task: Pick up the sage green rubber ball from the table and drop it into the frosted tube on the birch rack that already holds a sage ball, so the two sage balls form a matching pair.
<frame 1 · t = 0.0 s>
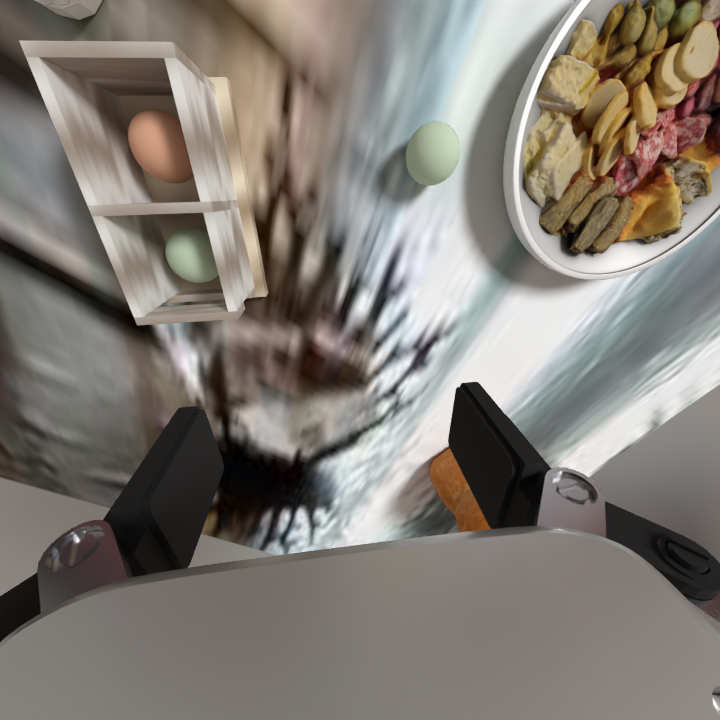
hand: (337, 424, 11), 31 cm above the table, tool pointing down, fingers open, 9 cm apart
bread: (483, 473, 63), on the table
sage ball: (432, 154, 32), point 3 cm above the table
bowl: (610, 144, 36), on the table
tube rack: (197, 205, 34), on the table
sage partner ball: (196, 256, 33), point 4 cm above the table, touching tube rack
terracotta ball: (165, 148, 28), point 4 cm above the table, touching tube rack
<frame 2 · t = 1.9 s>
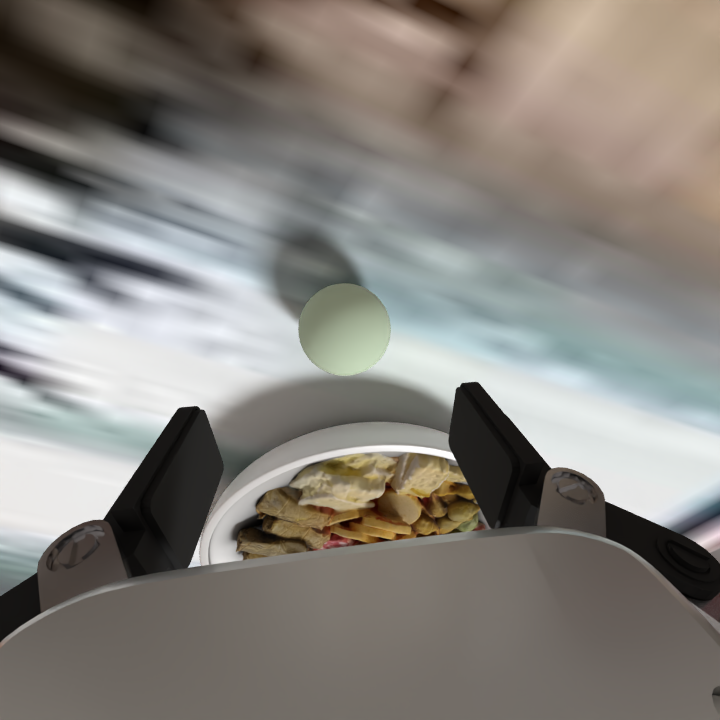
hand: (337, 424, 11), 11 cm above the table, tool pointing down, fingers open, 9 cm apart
sage ball: (344, 330, 19), point 3 cm above the table
bowl: (363, 511, 33), on the table
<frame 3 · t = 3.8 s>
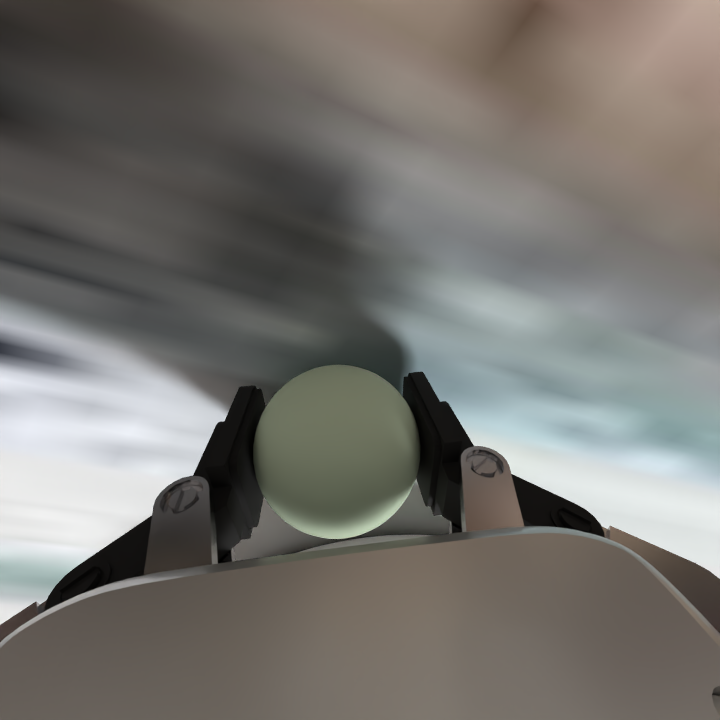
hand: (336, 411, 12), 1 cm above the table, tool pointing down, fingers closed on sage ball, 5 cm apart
sage ball: (338, 445, 10), point 3 cm above the table, touching gripper
bowl: (366, 622, 25), on the table
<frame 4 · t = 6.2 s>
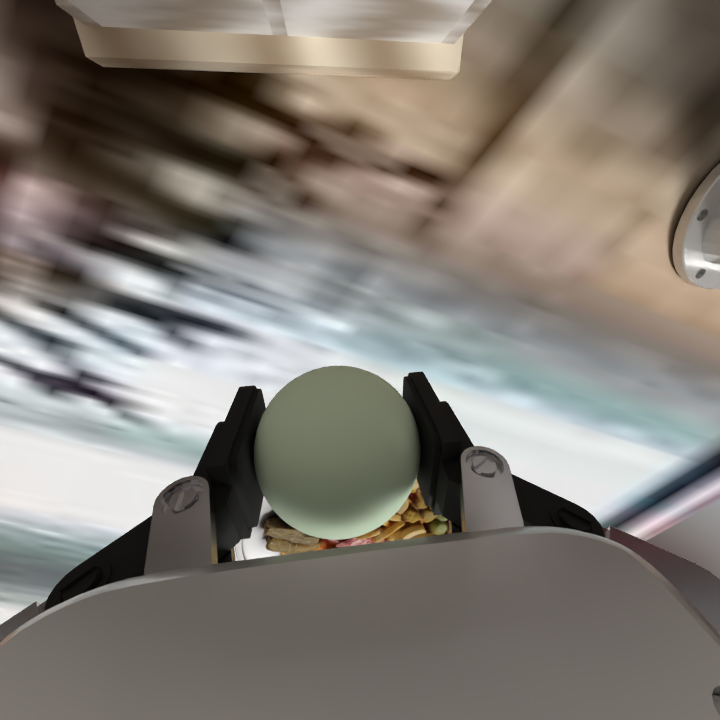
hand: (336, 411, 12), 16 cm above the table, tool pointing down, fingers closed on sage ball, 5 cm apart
sage ball: (338, 446, 10), point 17 cm above the table, touching gripper
bowl: (362, 505, 40), on the table
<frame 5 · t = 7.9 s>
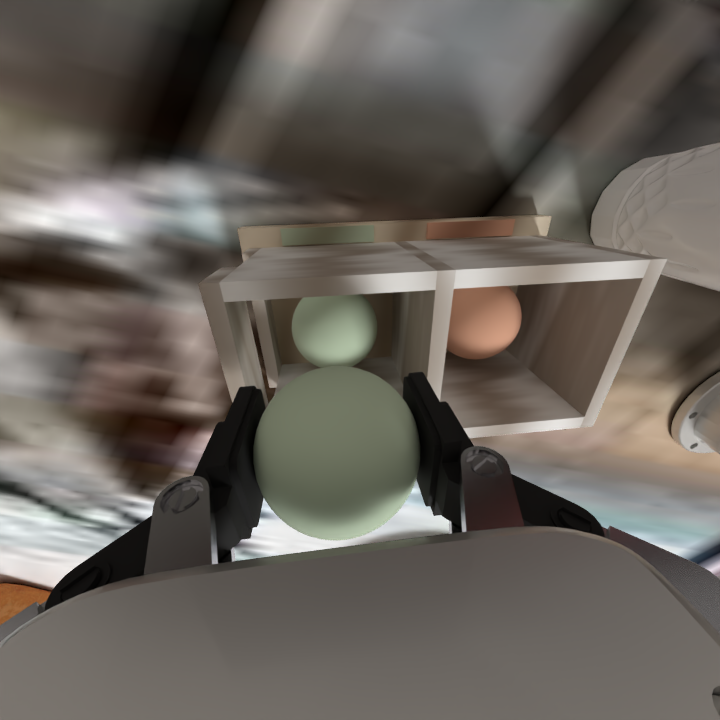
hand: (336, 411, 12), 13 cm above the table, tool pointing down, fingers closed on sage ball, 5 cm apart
bread: (15, 627, 41), on the table
sage ball: (338, 446, 10), point 15 cm above the table, touching gripper
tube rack: (393, 303, 24), on the table
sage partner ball: (335, 327, 20), point 4 cm above the table, touching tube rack
terracotta ball: (475, 318, 21), point 4 cm above the table, touching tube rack
white cup: (631, 210, 23), on the table
when the fingers open (12 cm above the table, at t = 8.9 s): sage ball drops 5 cm and tips over, resting on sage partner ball, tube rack.
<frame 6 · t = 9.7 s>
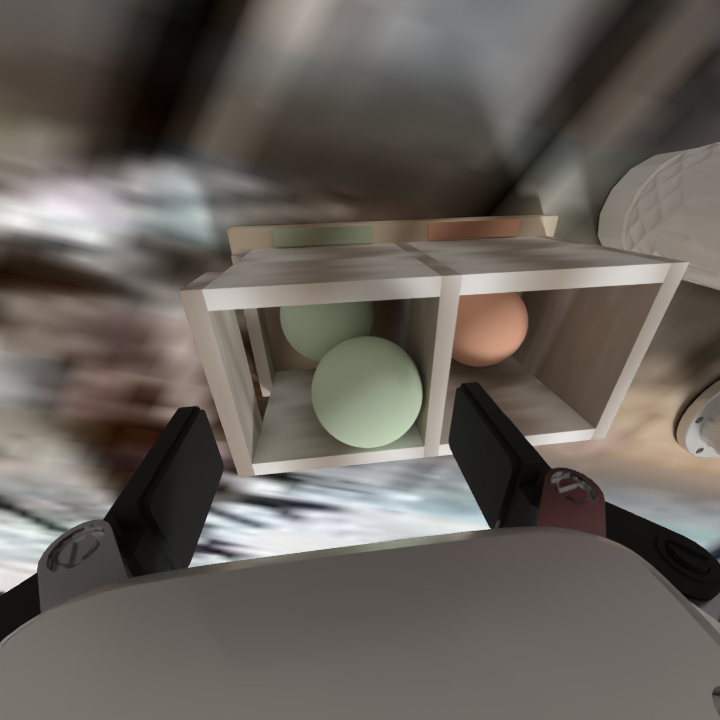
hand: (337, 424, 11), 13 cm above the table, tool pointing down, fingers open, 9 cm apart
sage ball: (366, 390, 15), point 9 cm above the table, tilted 82°, touching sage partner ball, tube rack
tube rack: (392, 306, 23), on the table
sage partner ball: (327, 316, 18), point 4 cm above the table, tilted 25°, touching sage ball, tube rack
terracotta ball: (479, 323, 20), point 4 cm above the table, touching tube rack
white cup: (640, 210, 22), on the table
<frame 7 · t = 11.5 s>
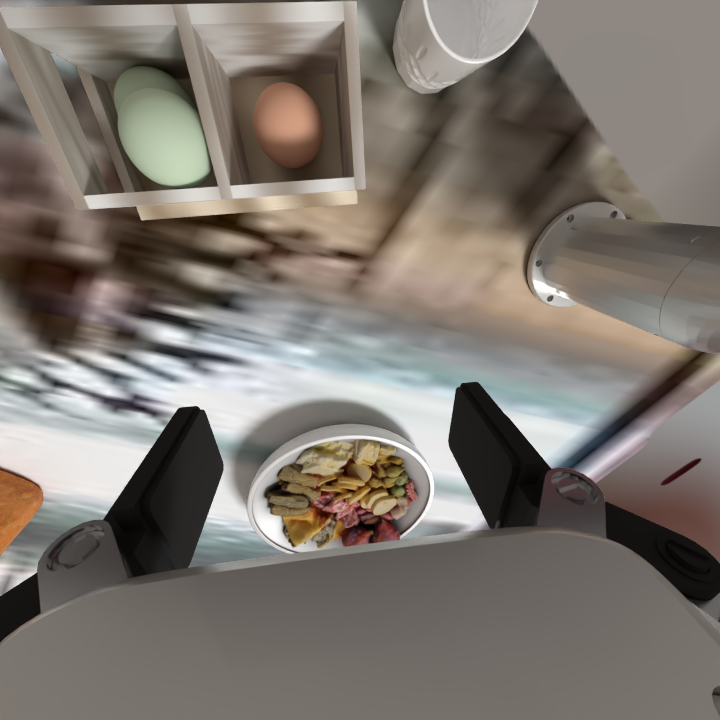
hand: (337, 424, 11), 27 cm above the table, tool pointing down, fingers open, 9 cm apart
sage ball: (169, 142, 21), point 9 cm above the table, tilted 82°, touching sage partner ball, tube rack
bowl: (341, 479, 53), on the table
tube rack: (240, 139, 28), on the table
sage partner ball: (160, 115, 23), point 4 cm above the table, tilted 25°, touching sage ball, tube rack
terracotta ball: (288, 128, 25), point 4 cm above the table, touching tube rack
white cup: (428, 47, 27), on the table
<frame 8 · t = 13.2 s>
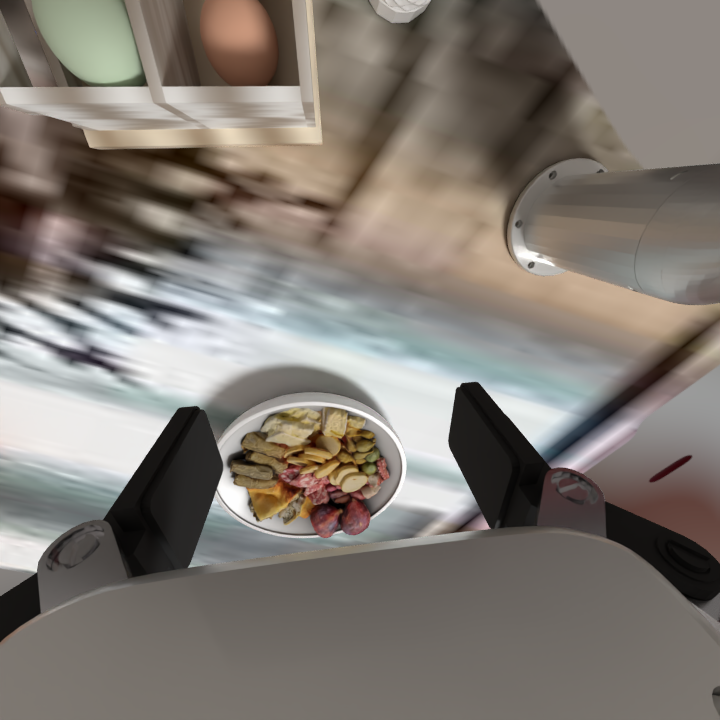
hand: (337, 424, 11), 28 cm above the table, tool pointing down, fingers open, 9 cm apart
sage ball: (97, 35, 19), point 9 cm above the table, tilted 82°, touching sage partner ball, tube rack
bowl: (312, 455, 51), on the table
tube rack: (196, 64, 27), on the table
terracotta ball: (241, 43, 23), point 4 cm above the table, touching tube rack
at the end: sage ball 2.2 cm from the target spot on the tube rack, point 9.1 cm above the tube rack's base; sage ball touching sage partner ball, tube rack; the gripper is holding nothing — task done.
